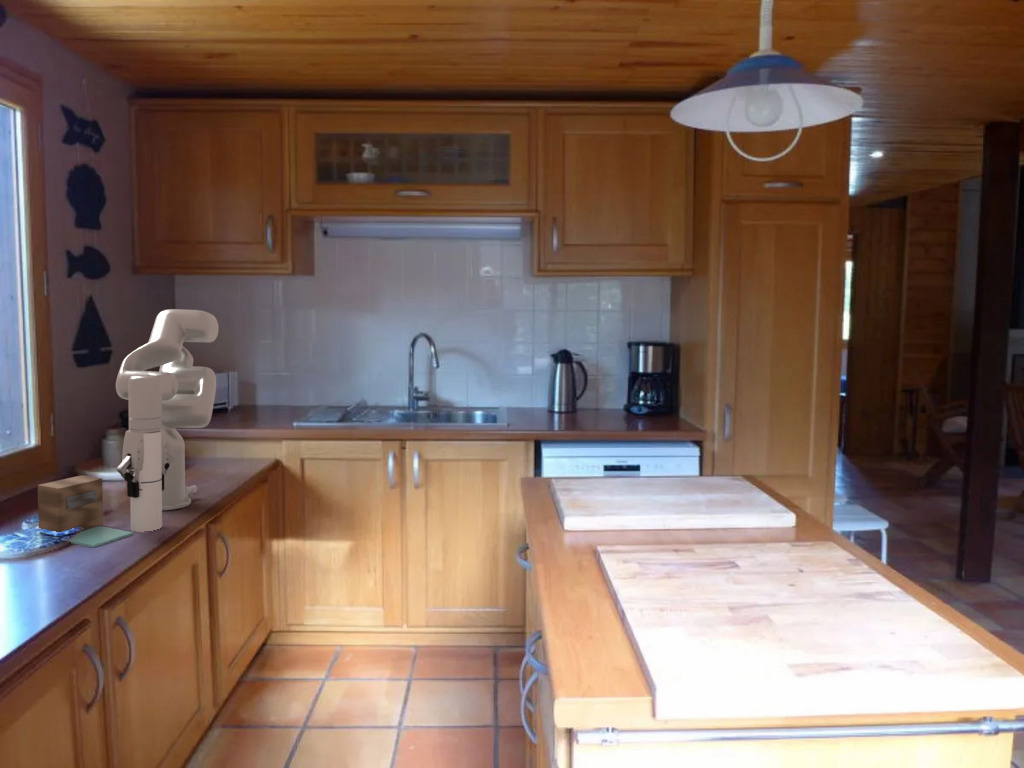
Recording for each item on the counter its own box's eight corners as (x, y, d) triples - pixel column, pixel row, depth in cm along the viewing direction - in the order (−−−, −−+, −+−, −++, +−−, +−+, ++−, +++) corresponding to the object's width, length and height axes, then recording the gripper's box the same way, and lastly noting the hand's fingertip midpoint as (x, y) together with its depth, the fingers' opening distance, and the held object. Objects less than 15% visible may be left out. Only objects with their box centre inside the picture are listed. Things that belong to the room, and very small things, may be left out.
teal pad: (100, 528, 186) (100, 525, 186) (132, 534, 182) (132, 532, 182) (59, 540, 175) (59, 538, 175) (93, 547, 172) (93, 545, 172)
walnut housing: (81, 520, 191) (80, 474, 190) (104, 524, 189) (103, 478, 187) (37, 532, 180) (35, 484, 179) (60, 537, 177) (59, 488, 176)
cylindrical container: (161, 531, 185) (160, 433, 183) (129, 533, 183) (128, 433, 180) (163, 523, 192) (162, 428, 189) (132, 524, 189) (131, 428, 187)
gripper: (161, 418, 194) (162, 484, 196) (104, 427, 178) (105, 499, 180) (184, 421, 191) (184, 488, 193) (127, 430, 175) (128, 503, 177)
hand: (146, 492), depth 186 cm, fingers closed on cylindrical container, 7 cm apart
